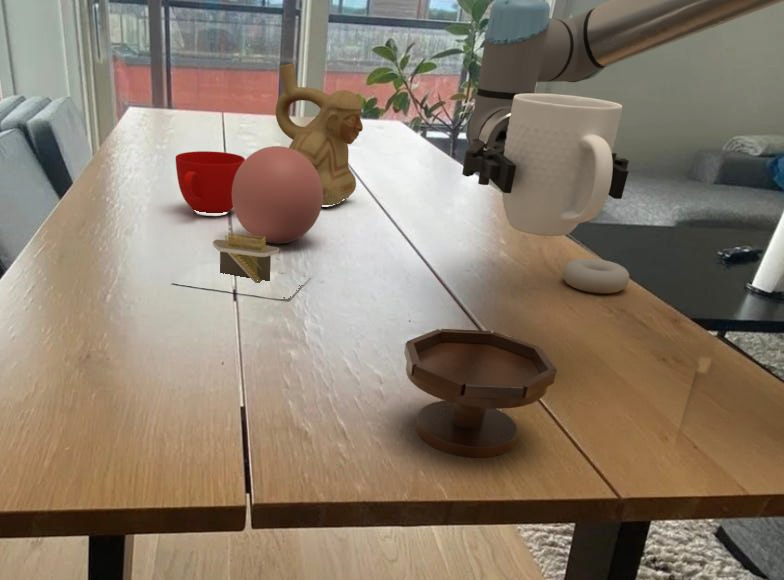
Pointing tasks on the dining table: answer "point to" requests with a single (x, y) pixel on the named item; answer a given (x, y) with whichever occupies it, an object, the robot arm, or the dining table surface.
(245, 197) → the pink ball
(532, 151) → the mug
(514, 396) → the cake stand
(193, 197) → the ceramic cup
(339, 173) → the ceramic vessel
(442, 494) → the dining table surface
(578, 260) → the donut
